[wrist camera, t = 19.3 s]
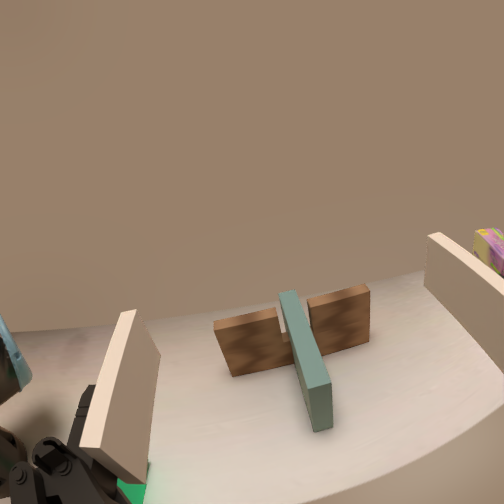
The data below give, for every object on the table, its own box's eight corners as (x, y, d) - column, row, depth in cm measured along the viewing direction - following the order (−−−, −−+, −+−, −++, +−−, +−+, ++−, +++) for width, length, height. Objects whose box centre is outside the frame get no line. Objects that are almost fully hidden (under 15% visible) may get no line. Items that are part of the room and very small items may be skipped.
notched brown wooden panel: (232, 376, 45) (213, 330, 40) (231, 367, 46) (213, 321, 42) (369, 341, 44) (370, 290, 40) (364, 333, 46) (364, 283, 42)
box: (511, 312, 38) (526, 253, 33) (488, 318, 39) (502, 258, 34) (488, 280, 47) (497, 226, 42) (466, 284, 48) (474, 229, 43)
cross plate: (313, 432, 33) (307, 389, 28) (288, 341, 49) (278, 293, 45) (333, 427, 33) (331, 382, 28) (302, 337, 49) (294, 289, 45)
